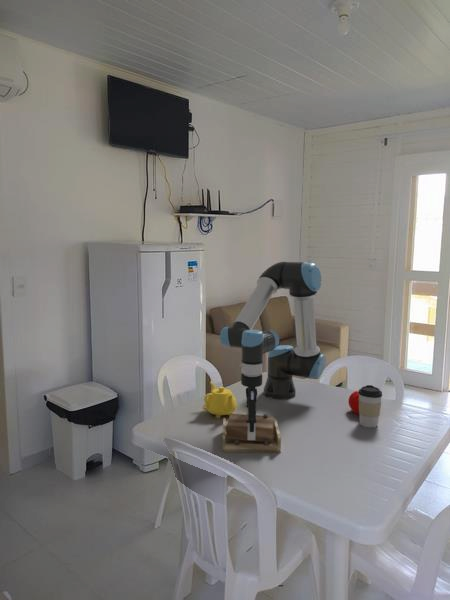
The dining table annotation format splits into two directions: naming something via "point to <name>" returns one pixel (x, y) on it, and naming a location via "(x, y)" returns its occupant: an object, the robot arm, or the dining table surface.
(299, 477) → the dining table surface
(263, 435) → the door
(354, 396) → the tomato
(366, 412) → the coffee cup
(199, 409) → the dining table surface
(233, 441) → the box
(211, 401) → the teapot
